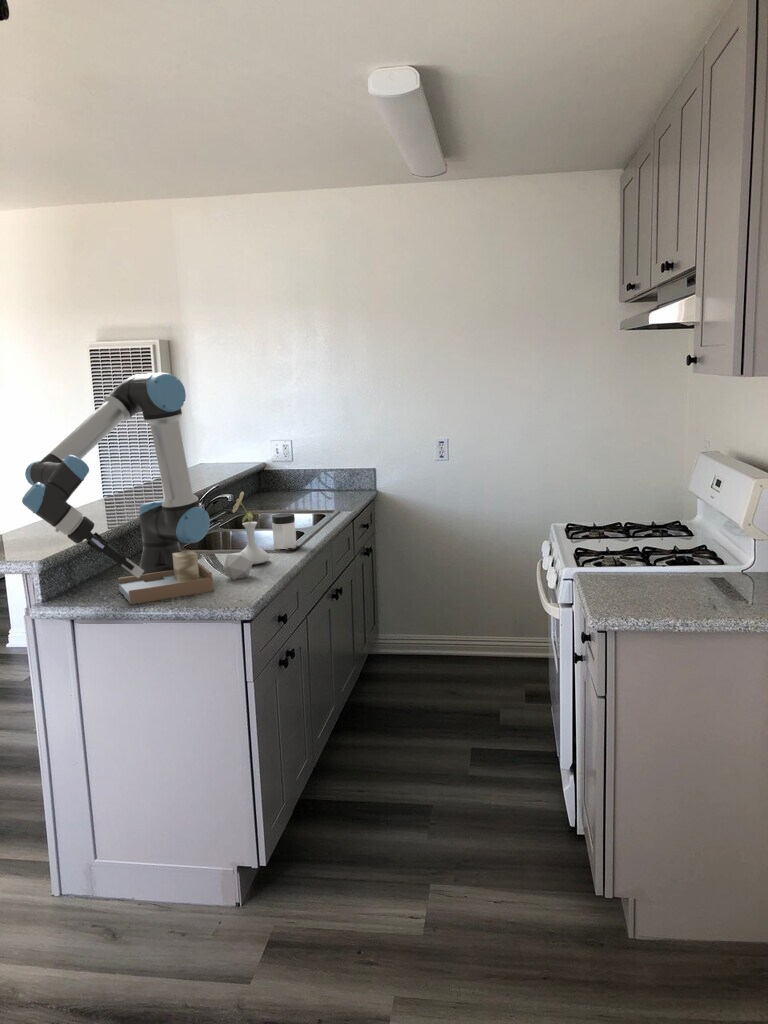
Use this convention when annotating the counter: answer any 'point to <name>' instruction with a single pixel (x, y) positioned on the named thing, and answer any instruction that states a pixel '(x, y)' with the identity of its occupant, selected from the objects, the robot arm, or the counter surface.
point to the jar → (284, 530)
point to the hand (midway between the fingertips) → (140, 574)
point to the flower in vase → (251, 537)
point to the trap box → (163, 586)
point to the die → (237, 565)
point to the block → (185, 566)
